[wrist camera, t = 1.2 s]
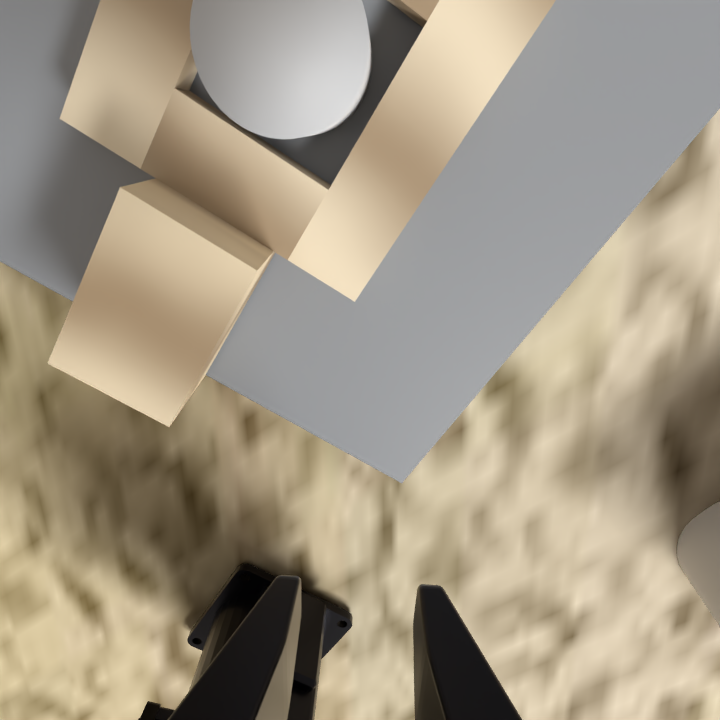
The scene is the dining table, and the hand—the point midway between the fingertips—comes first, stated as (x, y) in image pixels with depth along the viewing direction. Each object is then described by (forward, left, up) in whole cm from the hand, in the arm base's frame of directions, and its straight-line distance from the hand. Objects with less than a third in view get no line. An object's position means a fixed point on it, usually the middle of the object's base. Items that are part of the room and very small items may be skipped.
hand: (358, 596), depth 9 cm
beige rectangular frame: (+4, +7, -11) cm, 13 cm away
